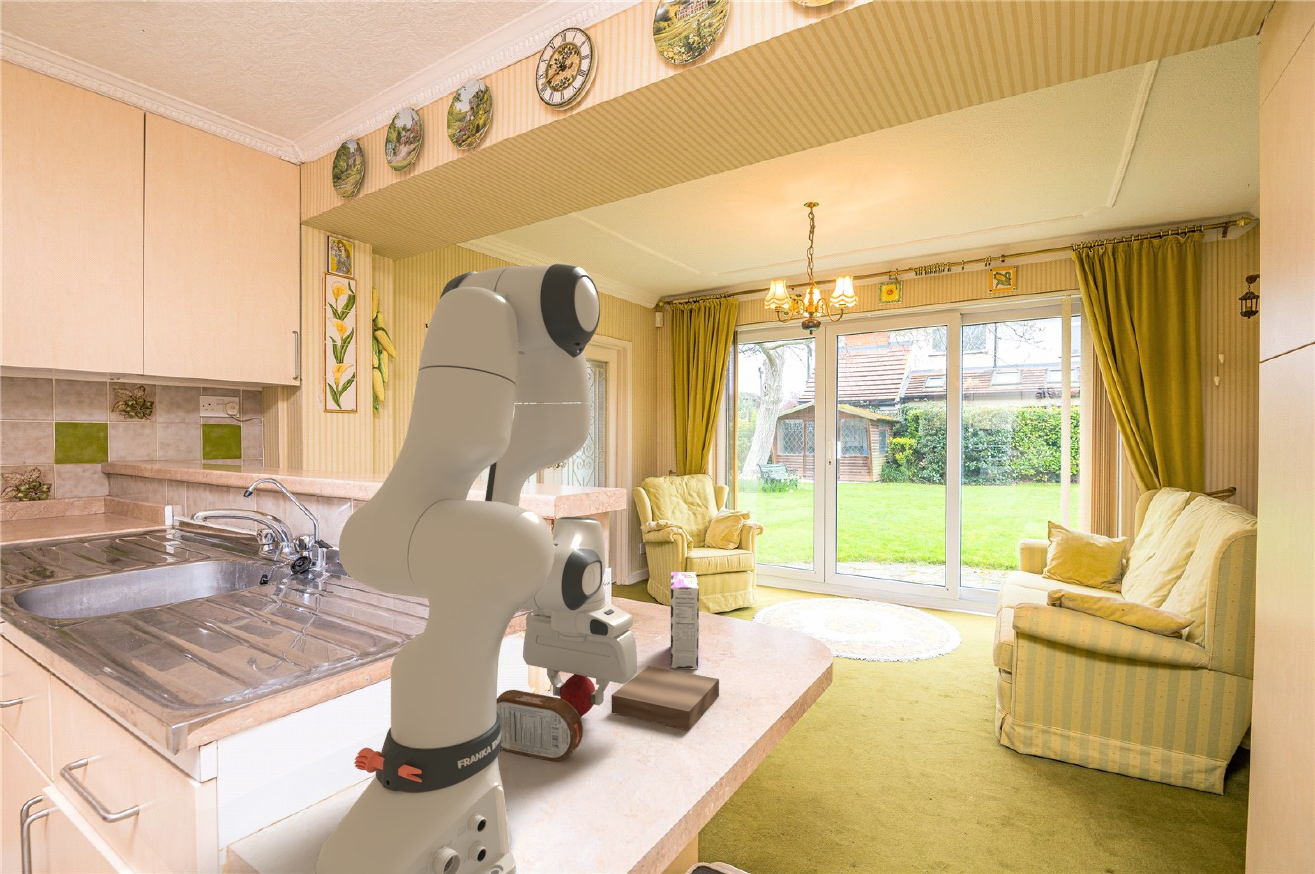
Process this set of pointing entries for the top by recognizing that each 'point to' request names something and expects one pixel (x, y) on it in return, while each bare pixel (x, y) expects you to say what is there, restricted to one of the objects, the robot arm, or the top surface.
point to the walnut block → (666, 697)
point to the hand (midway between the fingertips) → (578, 699)
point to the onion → (578, 693)
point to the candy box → (684, 619)
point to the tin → (538, 725)
